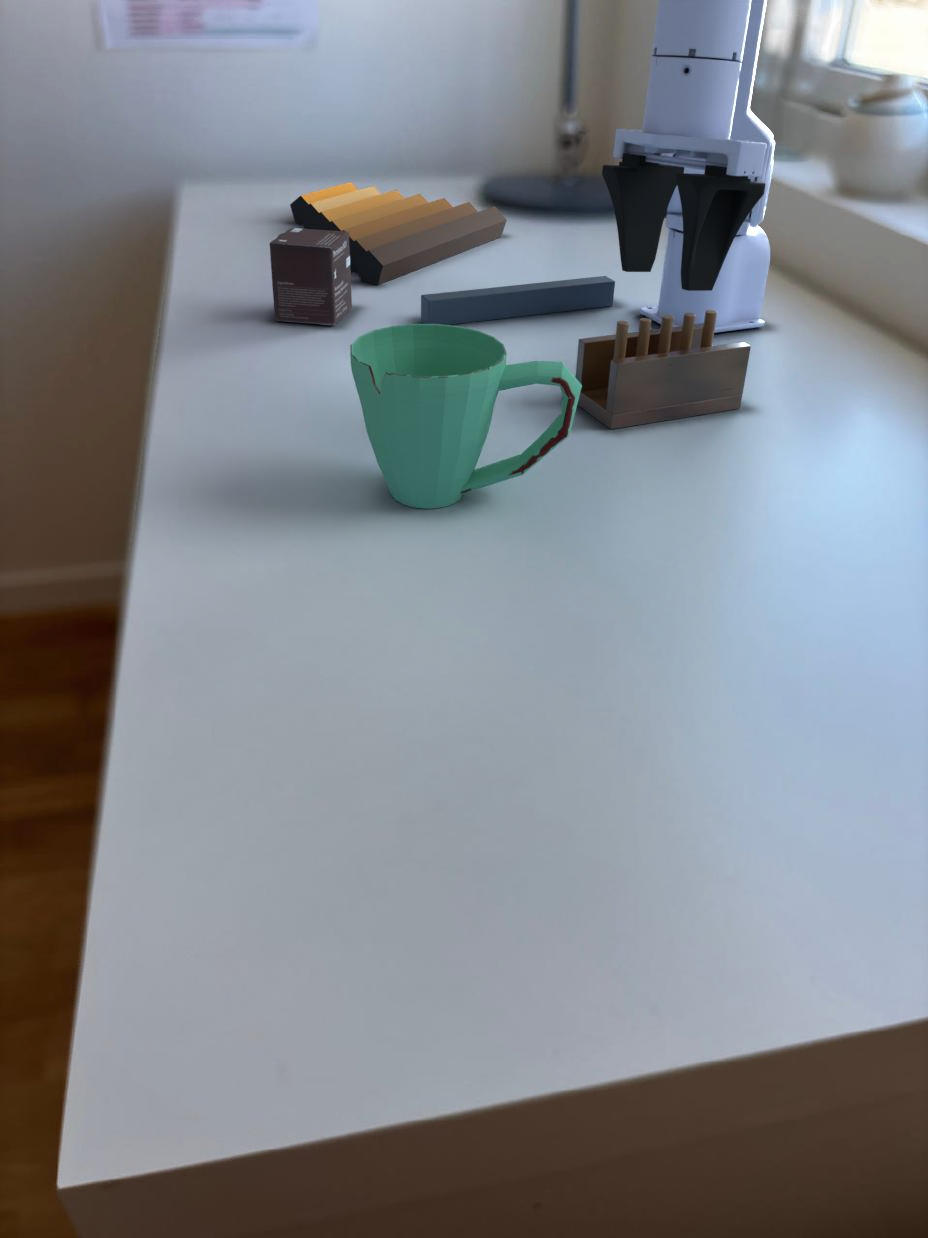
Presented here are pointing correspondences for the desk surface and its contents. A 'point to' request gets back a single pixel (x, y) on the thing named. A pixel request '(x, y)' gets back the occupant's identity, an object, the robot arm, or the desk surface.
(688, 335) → the rack
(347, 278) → the box
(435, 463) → the mug
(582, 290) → the rail
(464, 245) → the ridged wooden panel
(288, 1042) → the desk surface
